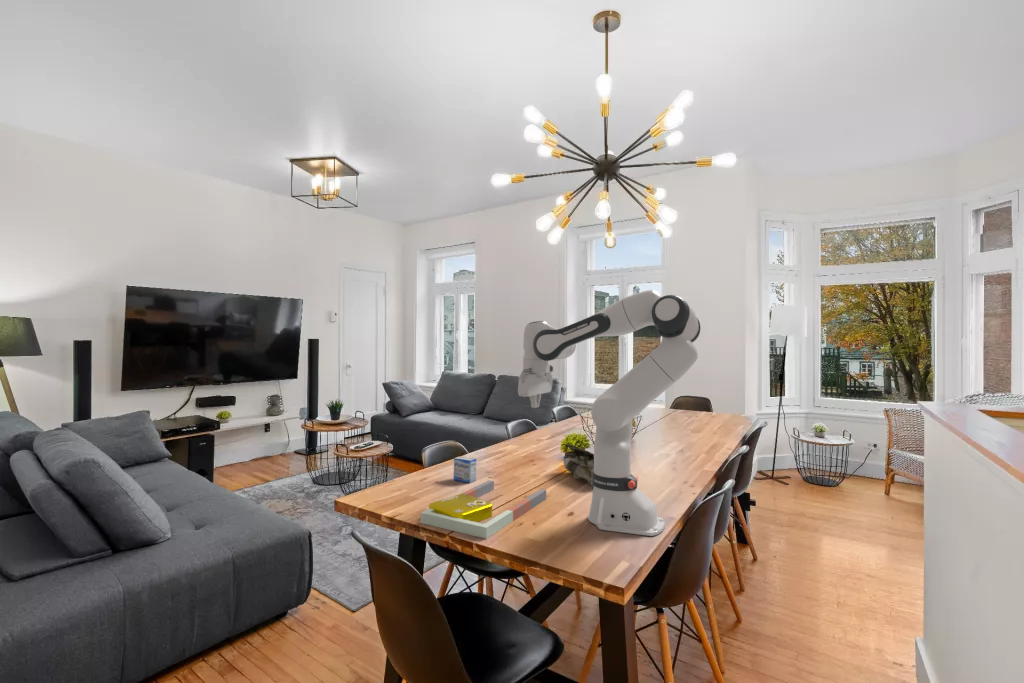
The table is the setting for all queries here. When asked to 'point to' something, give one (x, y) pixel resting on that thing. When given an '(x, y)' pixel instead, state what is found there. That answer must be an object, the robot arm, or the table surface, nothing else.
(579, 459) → the hollow geode rock
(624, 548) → the table surface
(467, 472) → the medicine box
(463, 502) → the element tile
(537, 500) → the trap track
